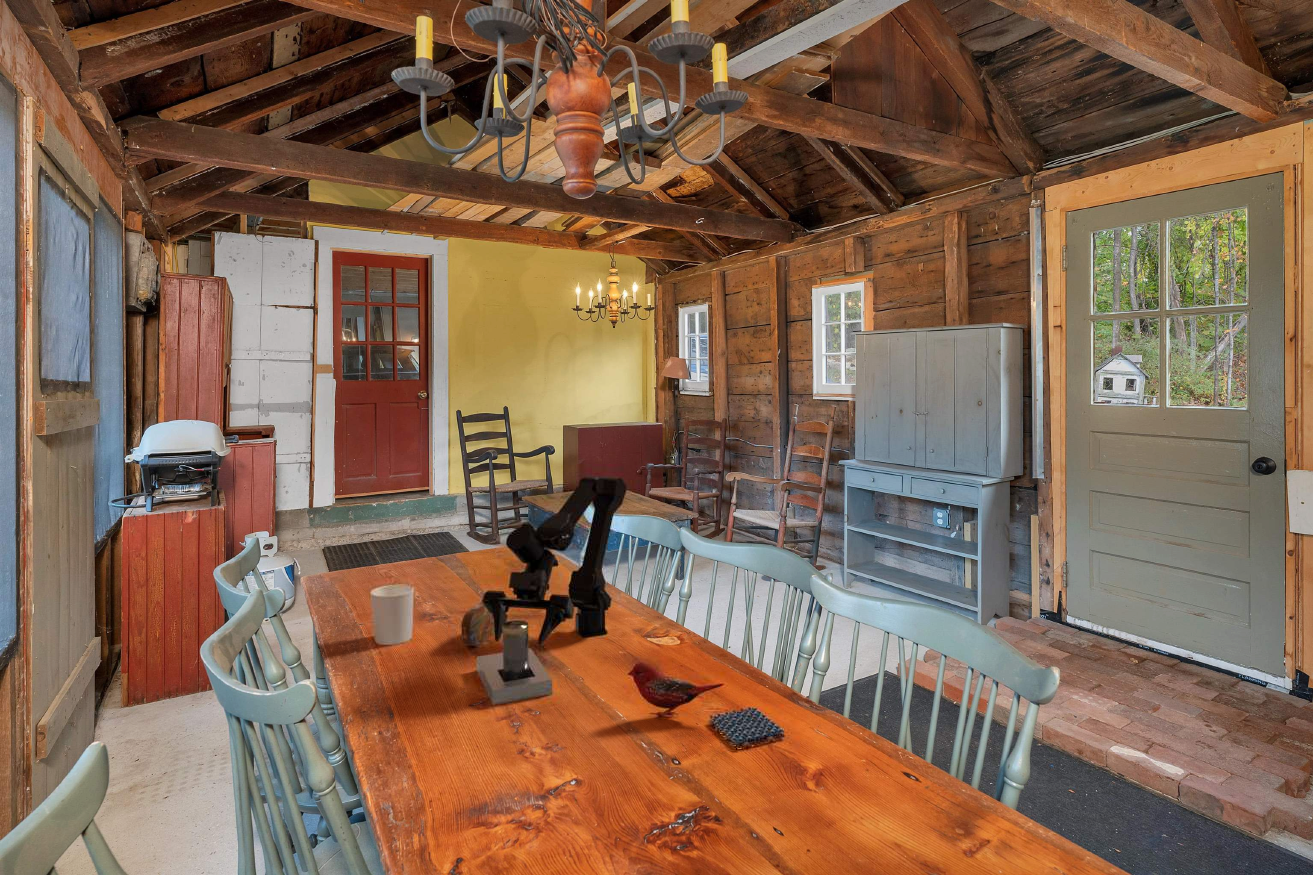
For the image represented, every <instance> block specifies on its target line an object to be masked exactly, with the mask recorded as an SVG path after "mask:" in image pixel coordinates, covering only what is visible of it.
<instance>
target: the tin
mask: <svg viewBox="0 0 1313 875" xmlns="http://www.w3.org/2000/svg"><path fill="white" fill-rule="evenodd" d="M460 626H461V628H460V629H461V638H462V642H463V644H464V645H465V646H467V647H479V646H481V645H482V644H484V643H485V642H486V641H488V639H490V638H491V637H492V636H493V635H495V629H494V617H493V614H492V613H490V612H489V611H488V610H487V608H486V607H485V605H484V604H483V602H482V601H480V602H479V603H477V605H474V606H473V607H472V608H470V609H468V611H466V612H465V613H464V616H463V618H462V620H461V624H460Z"/></svg>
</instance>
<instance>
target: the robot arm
mask: <svg viewBox="0 0 1313 875" xmlns="http://www.w3.org/2000/svg"><path fill="white" fill-rule="evenodd" d="M627 489H628V488H627V484H626V483H625V482H624V480H623V478H622V477H610V476H609V477H608V476H598V477H597V476H584V477H581V478H580V480H579V482H578V485H577V487H576V488H575V489H574V490H573V492H572V494H571V495H570V496H569V497H568V499H567V500H566V502H564V504H563V506H561V508H560V509H559V511H558V512H556V514H553V515H551V516H549V517H548V518H546V519H545V520H544V521H543V522H541V524H539V526H537V529H535V528H534V526H533V524H531V523H522V525H521V526H520V527H517V528H516V529H514V530H513V531H511V533H509V534H508V535H507V537H506V539H505V540H506V541H505V544H506V547H507V548H508V549H509V550H510V552H511V553H512V554H513V555H514V556H515V557H516V558H517V559H518V561H520V562H521V563H523V564H525V568H524V571H511V572H510V578H509V584H508V588H509V589H513V590H512V593H513V595H515V596H516V598H515V597H508V596H507V595H506V593H505V591H503V590H494V589H493V590H491V589H489V590H486V592H485V593H483V595H482V599H481V602H483V604H484V605H485V607H486V608H487V610H488V611H489V612H490V613H492V614H493V617H494V629H495V632H494V641H495V642H498V643H499V641H500V639H501V638H502V636H503V634H502V625H503V624H504V623H506V622H507V619H508V614H507V613H508V612H509V610H510V608H513V609H515V608H516V609H531V610H532V609H533V610H545V616H544V617H545V618H544V620H543V623H542V627H541V630H540V633H539V636H538V640H537V644H538V645H539V646H542V645H543V643H544V642H545V641H546V640H547V638H548V637H549V636H550V635H551V633H553V631H554V630H555V629H556V628H557V627H558V626H559V625H561V623H566V622H567V621H566V620H571V619H573V618H575V620H574V622H575V627H574V630H575V631H576V632H578V634H579V635H580V636H581V637H582V638H587V637H592V636H598V635H600V636H601V635H604V634H605V635H606V634H608V632H609V631H608V630H607V629H606V611H608V610H609V608H611V605H612V597H611V596H610V594H609V593H608V592H607V591H606V589H605V588H606V579H605V576H604V573H603V564H604V560H605V555H606V550H607V546H608V542H609V537H610V533H611V527H612V523H613V518H614V514H615V513H616V512H617V511H618V509H619V508H621V506H622V505H623V502H624V499H625V496H626V494H627ZM591 503H592V504H593V509H594V511H593V514H592V520H591V523H590V528H589V533H588V537H587V542H586V546H585V551H584V555H583V560H582V564H581V566H580V567H579V568H578V569H577V570H572V573H571V575H570V581H569V583H568V585H567V587H568V591H567V592H568V594H558V593H556V594H555V593H554V594H553V593H552V594H551V595H550V597H549V599H545V597H546V594H547V591H549V590H550V583H549V582H550V579H551V576H552V575H551V574H552V572H553V567H555V568H556V567H558V566H559V565H560V564H559V560H558V559H557V558H556V555H555V554H554V553H553V552H552V551H558V552H564V551H566V550H567V549H568V547H569V546H570V545H571V543H572V540H574V537H575V527H576V525H577V523H578V522H579V521H580V519H581V517H582V516H583V515H584V513H585V512H586V511H587V509H588V508H589V506H590V505H591ZM575 608H576V610H577V611H576V613H575ZM574 613H575V614H574Z"/></svg>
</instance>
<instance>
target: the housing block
mask: <svg viewBox="0 0 1313 875" xmlns="http://www.w3.org/2000/svg"><path fill="white" fill-rule="evenodd" d="M528 656H529V678H525V679H519V680H513V681H508V682H504V680H503V652H499V653H493V654H487V655H486V654H485V655H480V656H479V655H478V656H476V672H477V674H478V676H479V679H480V681H481V683H482V686H483V688H484V690H485V692H486V694H487V697H488V698H489V700H490V703H491V706H496V705H497V706H498V705H501V704H503V705H504V704H508V703H514V702H518V701H525V700H529V699H533V698H539V697H540V698H541V697H545V696H549V695H551V696H552V695H553V694H554V692H553V678H552V677H551V675H550V673H549V672H548V671H547V670H546V668H545V666H544V665H543V664H542V663H541V661H540V659H539V658H538V656H537V655H536V653H535V652H534V650H532V648H531V647H530V648H529V647H528Z"/></svg>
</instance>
